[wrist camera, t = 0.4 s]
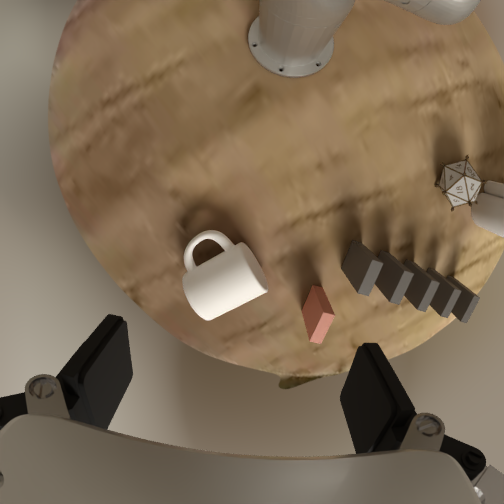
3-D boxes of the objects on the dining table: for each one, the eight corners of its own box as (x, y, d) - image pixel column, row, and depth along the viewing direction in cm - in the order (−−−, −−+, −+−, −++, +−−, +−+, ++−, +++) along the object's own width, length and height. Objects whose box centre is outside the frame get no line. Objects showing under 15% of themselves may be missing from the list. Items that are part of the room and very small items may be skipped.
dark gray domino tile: (381, 250, 45) (404, 270, 37) (389, 253, 46) (414, 273, 37) (369, 277, 47) (389, 302, 38) (377, 279, 47) (399, 304, 39)
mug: (267, 277, 47) (270, 301, 40) (215, 304, 49) (208, 330, 42) (228, 212, 44) (222, 225, 37) (174, 244, 46) (159, 262, 38)
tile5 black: (428, 267, 46) (454, 288, 38) (435, 270, 46) (461, 291, 38) (417, 292, 48) (440, 316, 39) (423, 294, 48) (447, 318, 40)
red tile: (312, 284, 48) (323, 312, 39) (322, 287, 48) (335, 315, 39) (301, 310, 49) (309, 341, 41) (311, 313, 49) (320, 343, 41)
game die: (427, 174, 45) (430, 152, 36) (467, 164, 41) (476, 140, 32) (442, 222, 43) (450, 209, 34) (483, 211, 39) (497, 195, 30)
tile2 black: (352, 240, 45) (372, 259, 37) (362, 243, 45) (383, 263, 37) (341, 268, 47) (357, 293, 38) (350, 271, 47) (368, 296, 38)
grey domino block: (448, 275, 47) (474, 295, 38) (453, 277, 47) (479, 297, 38) (436, 298, 48) (460, 321, 40) (442, 300, 48) (466, 323, 40)
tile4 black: (406, 259, 46) (431, 280, 37) (413, 262, 46) (439, 283, 38) (394, 285, 47) (417, 309, 39) (402, 287, 48) (425, 311, 39)
